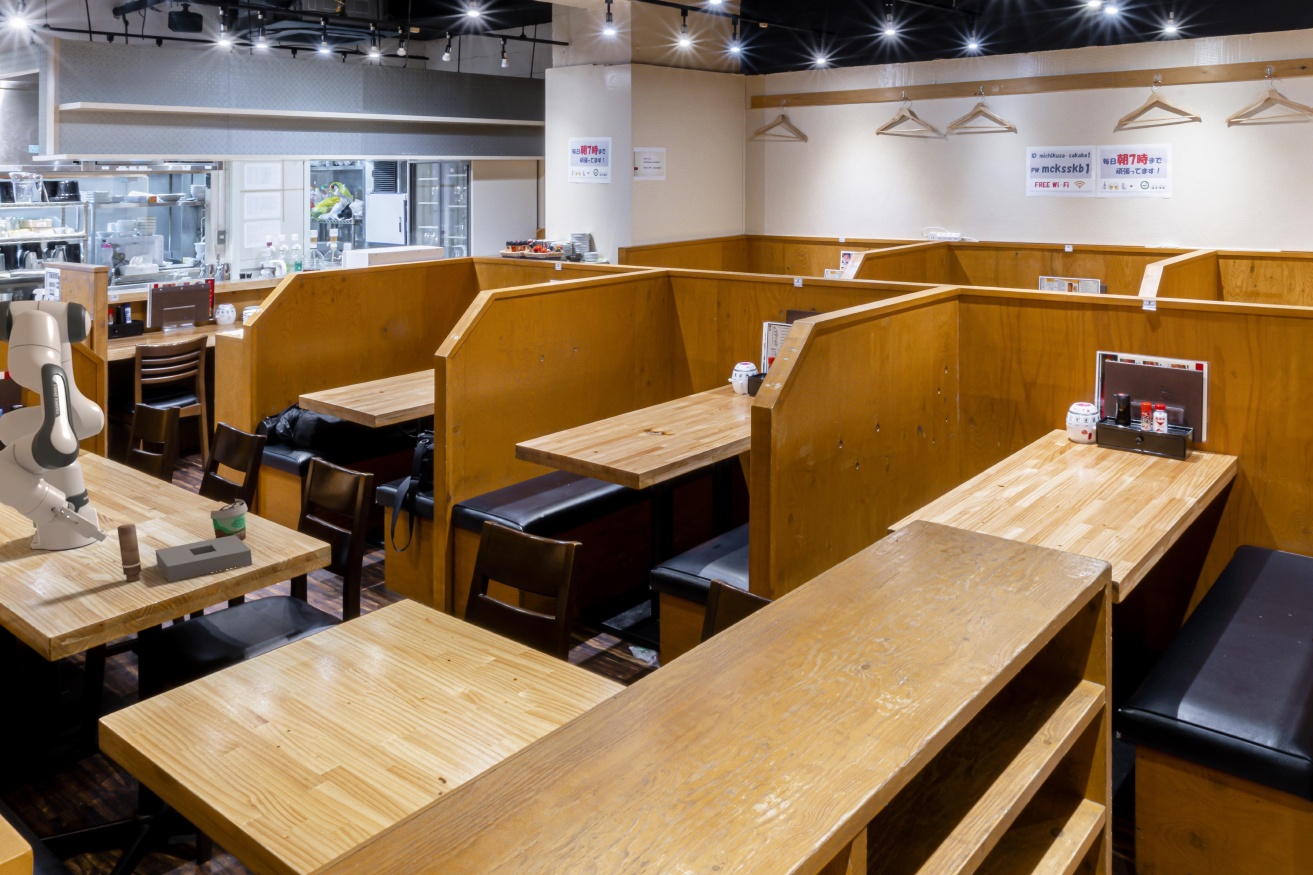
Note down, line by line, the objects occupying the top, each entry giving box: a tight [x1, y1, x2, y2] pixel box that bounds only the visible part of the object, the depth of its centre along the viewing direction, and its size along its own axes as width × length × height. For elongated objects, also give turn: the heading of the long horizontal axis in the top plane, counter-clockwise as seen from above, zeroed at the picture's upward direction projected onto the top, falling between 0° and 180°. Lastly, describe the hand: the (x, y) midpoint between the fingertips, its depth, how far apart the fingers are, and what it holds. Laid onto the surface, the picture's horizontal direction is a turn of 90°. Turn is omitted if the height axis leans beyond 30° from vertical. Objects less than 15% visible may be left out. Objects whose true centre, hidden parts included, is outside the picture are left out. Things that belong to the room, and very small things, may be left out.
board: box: [155, 535, 253, 583], centre depth 273 cm, size 15×20×4 cm
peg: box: [117, 523, 142, 583], centre depth 262 cm, size 4×4×14 cm
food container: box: [210, 498, 249, 542], centre depth 291 cm, size 12×6×10 cm, turn 168°
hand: (95, 534), depth 255 cm, fingers open, 8 cm apart
